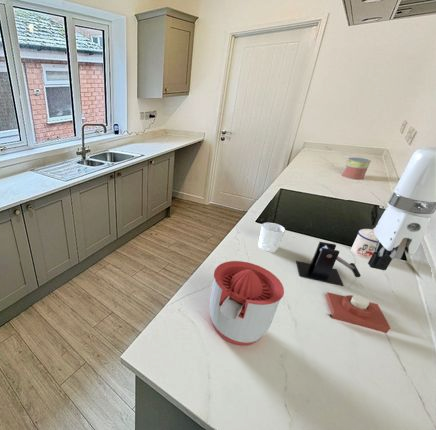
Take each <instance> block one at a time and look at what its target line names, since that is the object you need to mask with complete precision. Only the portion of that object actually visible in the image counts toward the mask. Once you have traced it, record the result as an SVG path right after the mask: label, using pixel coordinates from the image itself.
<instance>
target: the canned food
mask: <svg viewBox="0 0 436 430" xmlns="http://www.w3.org/2000/svg"><path fill="white" fill-rule="evenodd" d="M371 162H372V161H371V160H370V159H367V158H363V157H348V160H347V162H346V165H345V167H344V170H343V173H342V177H344V178H347V179H351V180H363V179H364V178H365V175H366V173H367V171H368V168H369V166H370V163H371Z"/></svg>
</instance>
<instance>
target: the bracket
mask: <svg viewBox="0 0 436 430" xmlns="http://www.w3.org/2000/svg"><path fill="white" fill-rule="evenodd" d="M325 245H327V246H329V247H330V248H331V249H327V248H322V247H324V246H325ZM336 247H337V244H335V243H329V242H325V241H319V242H318V244H317V246H316V249H315V252H314V254H313V257H312V260H311V262H310V263H309V262H305V261H299V260H296V261H295V264H296V267H297V271H298V276H299V277H300V278H305V279H308V280H314V281H319V282H322V283H327V284H332V285H335V286H340V287H344V285H345V284H344V283H343V281H342V278H341V276H340V274H339V271H338V269H337V268H334V266H335V263H336V261H337V260H336V259H337V257H339V254H340V250H337V249H336ZM321 248H322V249H321ZM320 249H321V251H320ZM332 249H333V250H332Z"/></svg>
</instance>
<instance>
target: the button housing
mask: <svg viewBox="0 0 436 430" xmlns="http://www.w3.org/2000/svg"><path fill="white" fill-rule="evenodd" d="M353 296H354V295H351V294H350V295H349V294H348V295H342V294H338V293H337V294H336V293H333V292H328V291H327V292H326V294H325V298H326V300H327V304H328V306H329V309H330V312H331V313H330V318H331V319H332V320H337V321H340V322H344V323H347V324H351V325H354V326H358V327H363V328H367V329H370V330H372V331H373V330H374V331H378V332H381V333H384V334H387V333H388V332H389V330H390V329H391V326H390V324H389V322H388V320H387V318H386V317H385V315H384V313H383V311H382V310H381V308H380V306H379V304H378V303H375V302H371V301H368V302H369V305H368V307H367V309H360V308H357V307H355V306H353V305H352V304H351V303H350V301H351V299H352V297H353Z"/></svg>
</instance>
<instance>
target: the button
mask: <svg viewBox="0 0 436 430" xmlns="http://www.w3.org/2000/svg"><path fill="white" fill-rule="evenodd" d="M369 302H370V301H369V300H368V299H367V298H364V297H363V296H360V295H353V297H352V299H351V301H350V303H351V304H352V305H353V306H355V307H357V308H360V309H367V307H368V305H369Z"/></svg>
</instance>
